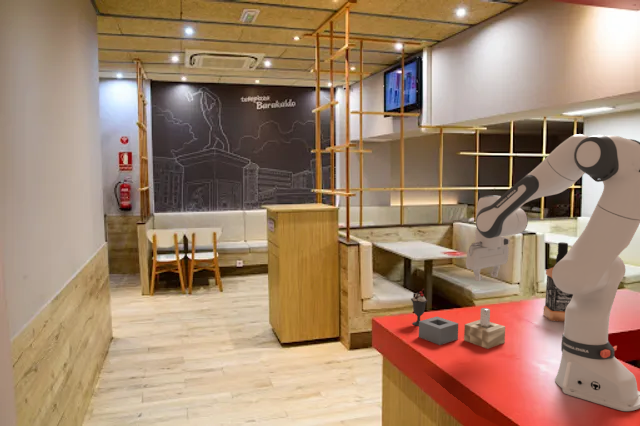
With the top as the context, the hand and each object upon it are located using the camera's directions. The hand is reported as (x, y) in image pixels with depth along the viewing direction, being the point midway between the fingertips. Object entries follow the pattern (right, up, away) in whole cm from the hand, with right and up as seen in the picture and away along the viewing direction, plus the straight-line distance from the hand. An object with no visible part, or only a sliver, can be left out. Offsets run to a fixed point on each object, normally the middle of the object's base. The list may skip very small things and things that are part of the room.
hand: (486, 278), depth 171 cm
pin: (0, -23, +2) cm, 23 cm away
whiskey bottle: (+41, -21, +29) cm, 54 cm away
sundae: (-20, -21, +21) cm, 36 cm away
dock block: (-16, -23, +5) cm, 28 cm away
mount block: (0, -23, +2) cm, 23 cm away
